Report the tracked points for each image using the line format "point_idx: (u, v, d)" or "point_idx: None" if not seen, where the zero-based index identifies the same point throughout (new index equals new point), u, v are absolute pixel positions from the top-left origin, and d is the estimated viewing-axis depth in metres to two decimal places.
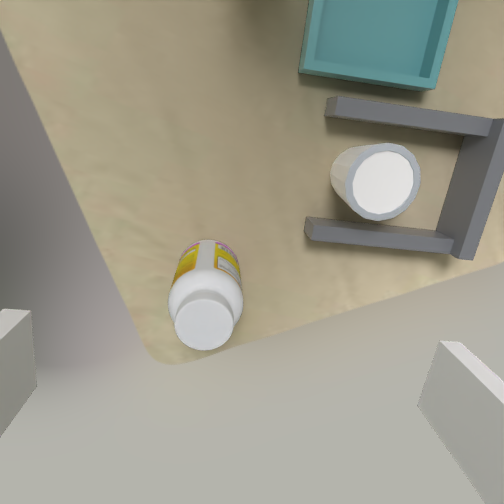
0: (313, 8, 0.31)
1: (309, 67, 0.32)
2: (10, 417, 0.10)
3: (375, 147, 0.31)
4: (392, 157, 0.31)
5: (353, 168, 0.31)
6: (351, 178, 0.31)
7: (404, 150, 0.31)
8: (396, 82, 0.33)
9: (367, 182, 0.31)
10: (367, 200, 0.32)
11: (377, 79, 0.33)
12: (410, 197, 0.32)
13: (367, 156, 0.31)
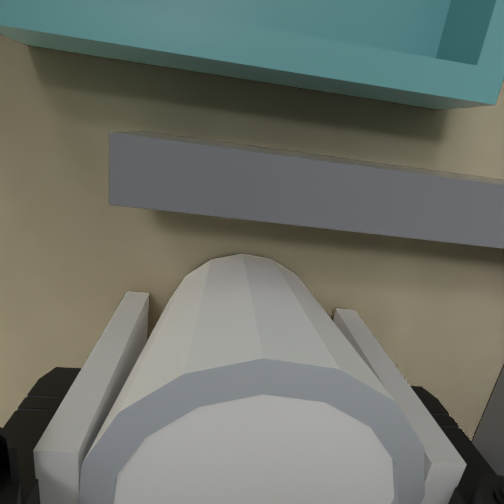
0: None
1: None
2: None
3: (196, 382, 0.06)
4: (290, 415, 0.06)
5: (100, 469, 0.06)
6: (105, 499, 0.07)
7: (347, 387, 0.06)
8: (354, 79, 0.09)
9: None
10: None
11: (281, 67, 0.09)
12: None
13: (160, 421, 0.06)
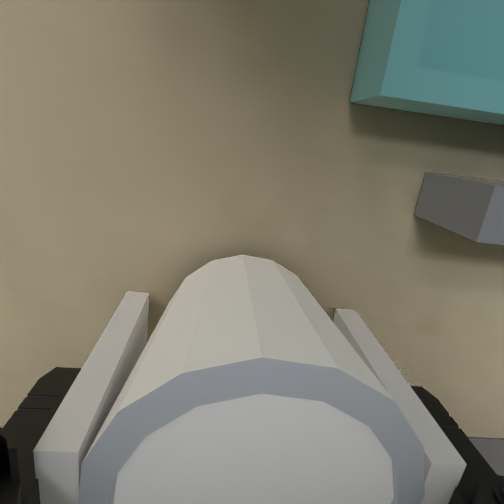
0: None
1: (399, 91, 0.10)
2: None
3: (195, 380, 0.06)
4: (289, 414, 0.06)
5: (100, 468, 0.06)
6: (105, 498, 0.07)
7: (345, 386, 0.06)
8: None
9: None
10: None
11: None
12: None
13: (159, 420, 0.06)
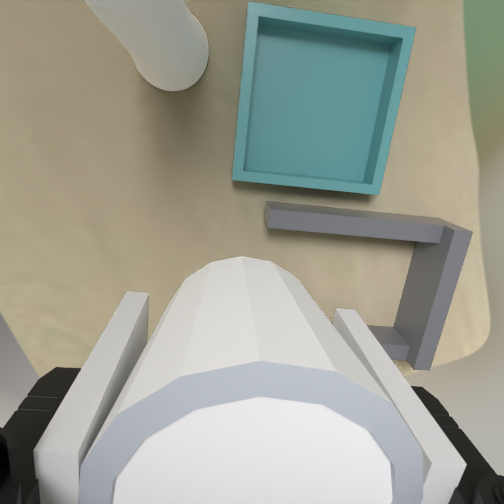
0: (238, 119, 0.28)
1: (238, 178, 0.29)
2: None
3: (194, 384, 0.06)
4: (287, 417, 0.06)
5: (99, 470, 0.06)
6: (104, 500, 0.07)
7: (344, 389, 0.06)
8: (336, 189, 0.30)
9: None
10: None
11: (315, 187, 0.30)
12: None
13: (158, 423, 0.06)
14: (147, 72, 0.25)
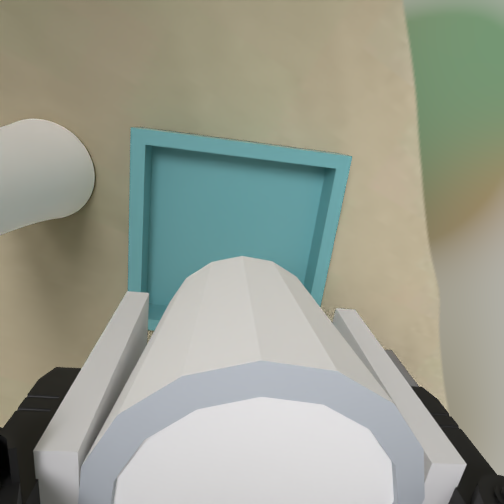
0: (129, 263, 0.22)
1: None
2: None
3: (195, 384, 0.06)
4: (288, 417, 0.06)
5: (99, 471, 0.06)
6: (105, 501, 0.07)
7: (345, 389, 0.06)
8: None
9: None
10: None
11: None
12: None
13: (158, 424, 0.06)
14: None
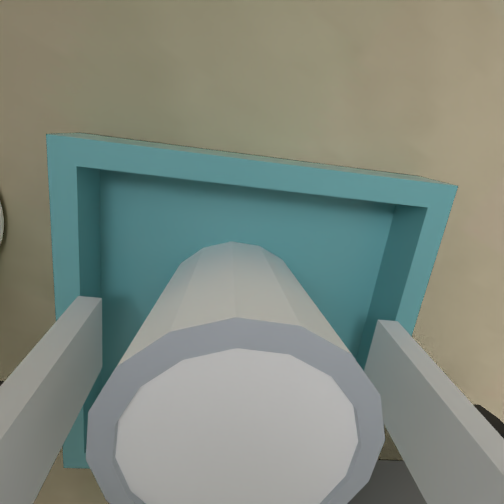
0: None
1: (77, 464, 0.14)
2: (87, 392, 0.11)
3: (181, 338, 0.07)
4: (262, 367, 0.08)
5: (103, 415, 0.08)
6: (109, 443, 0.08)
7: (308, 341, 0.07)
8: None
9: (176, 451, 0.08)
10: (190, 500, 0.09)
11: None
12: (350, 483, 0.09)
13: (151, 372, 0.07)
14: None
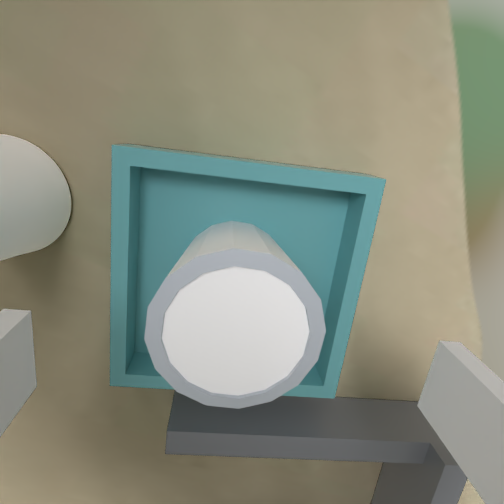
0: (111, 308, 0.18)
1: (119, 383, 0.19)
2: (10, 417, 0.10)
3: (203, 260, 0.13)
4: (249, 280, 0.13)
5: (156, 309, 0.13)
6: (158, 328, 0.13)
7: (276, 263, 0.13)
8: None
9: (198, 335, 0.13)
10: (206, 371, 0.14)
11: None
12: (306, 360, 0.14)
13: (185, 281, 0.13)
14: None
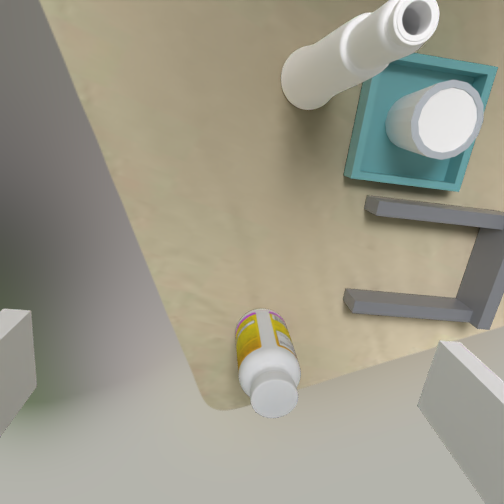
0: (360, 133, 0.37)
1: (355, 177, 0.39)
2: (10, 417, 0.10)
3: (441, 84, 0.32)
4: (457, 94, 0.32)
5: (419, 106, 0.32)
6: (417, 116, 0.32)
7: (468, 87, 0.32)
8: (427, 187, 0.40)
9: (432, 120, 0.32)
10: (432, 138, 0.33)
11: (411, 185, 0.39)
12: (473, 134, 0.33)
13: (433, 93, 0.32)
14: (304, 98, 0.34)
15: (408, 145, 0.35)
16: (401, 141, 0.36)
